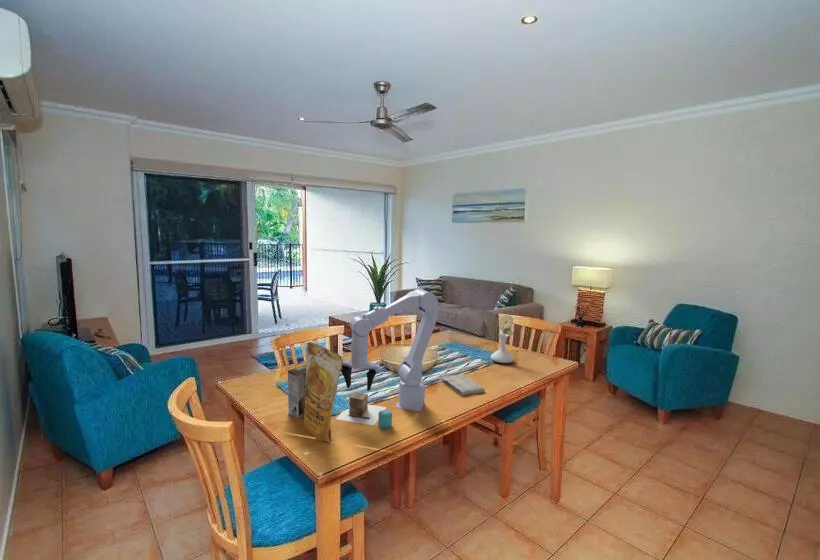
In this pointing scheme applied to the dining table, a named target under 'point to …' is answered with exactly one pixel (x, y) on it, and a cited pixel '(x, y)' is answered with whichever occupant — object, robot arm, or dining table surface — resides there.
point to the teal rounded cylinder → (385, 419)
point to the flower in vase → (503, 341)
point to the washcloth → (462, 384)
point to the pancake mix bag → (320, 389)
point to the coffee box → (297, 391)
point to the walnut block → (358, 403)
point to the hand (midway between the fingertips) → (358, 388)
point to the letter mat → (368, 417)
